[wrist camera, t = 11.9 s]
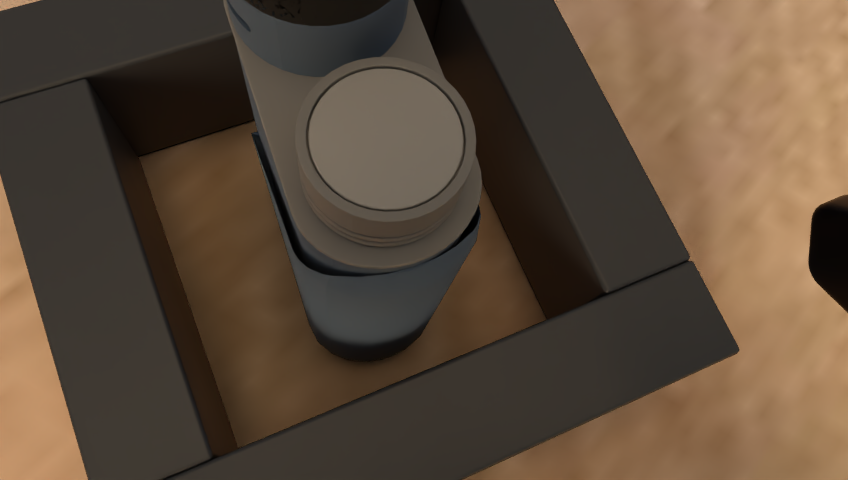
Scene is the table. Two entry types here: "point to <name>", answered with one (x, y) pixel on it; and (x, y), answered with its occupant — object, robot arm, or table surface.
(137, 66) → the frame
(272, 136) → the vaping device
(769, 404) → the table surface
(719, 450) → the table surface
